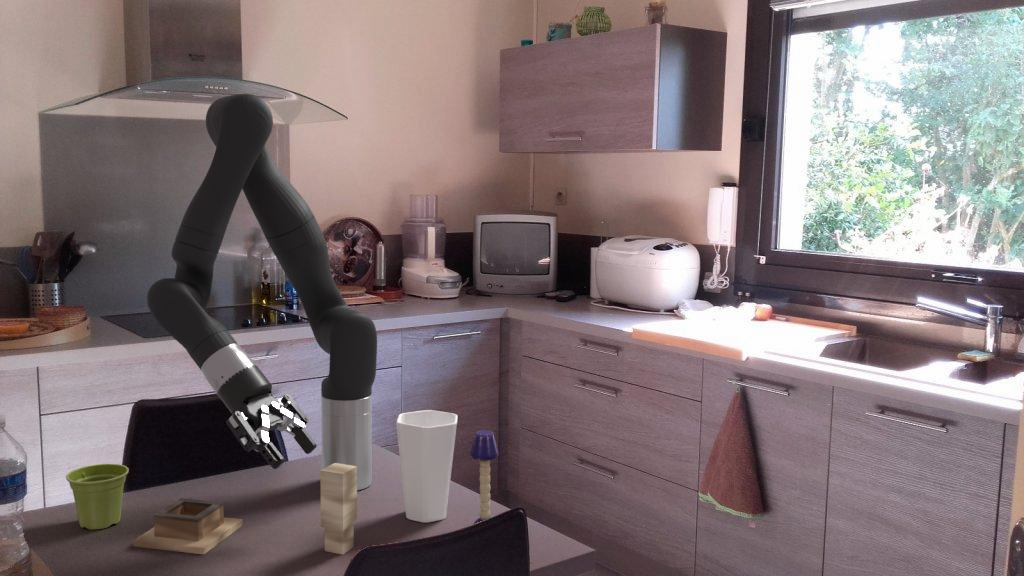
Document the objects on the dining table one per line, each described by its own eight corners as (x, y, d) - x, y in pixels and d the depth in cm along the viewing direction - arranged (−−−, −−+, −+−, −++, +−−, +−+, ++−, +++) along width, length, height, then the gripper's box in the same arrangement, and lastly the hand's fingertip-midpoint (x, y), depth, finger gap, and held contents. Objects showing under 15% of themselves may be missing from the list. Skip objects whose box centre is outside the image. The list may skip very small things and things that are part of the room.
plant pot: (65, 537, 143) (63, 484, 141) (70, 516, 151) (68, 466, 150) (129, 530, 146) (128, 478, 145) (131, 509, 155) (129, 461, 154)
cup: (469, 511, 157) (471, 416, 155) (437, 531, 148) (438, 430, 146) (416, 499, 162) (416, 407, 160) (382, 518, 153) (382, 420, 151)
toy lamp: (493, 536, 146) (495, 437, 144) (466, 534, 147) (467, 434, 145) (500, 525, 151) (502, 429, 149) (473, 523, 152) (474, 426, 150)
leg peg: (335, 542, 143) (334, 462, 141) (357, 546, 141) (356, 466, 140) (321, 551, 139) (320, 470, 138) (343, 556, 138) (342, 474, 136)
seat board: (177, 518, 151) (176, 492, 151) (242, 525, 149) (242, 498, 148) (133, 546, 140) (132, 518, 139) (204, 554, 137) (203, 526, 137)
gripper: (219, 372, 136) (283, 456, 134) (277, 356, 150) (336, 432, 147) (192, 402, 139) (254, 485, 136) (251, 384, 152) (308, 459, 149)
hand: (296, 457), depth 141 cm, fingers open, 8 cm apart
